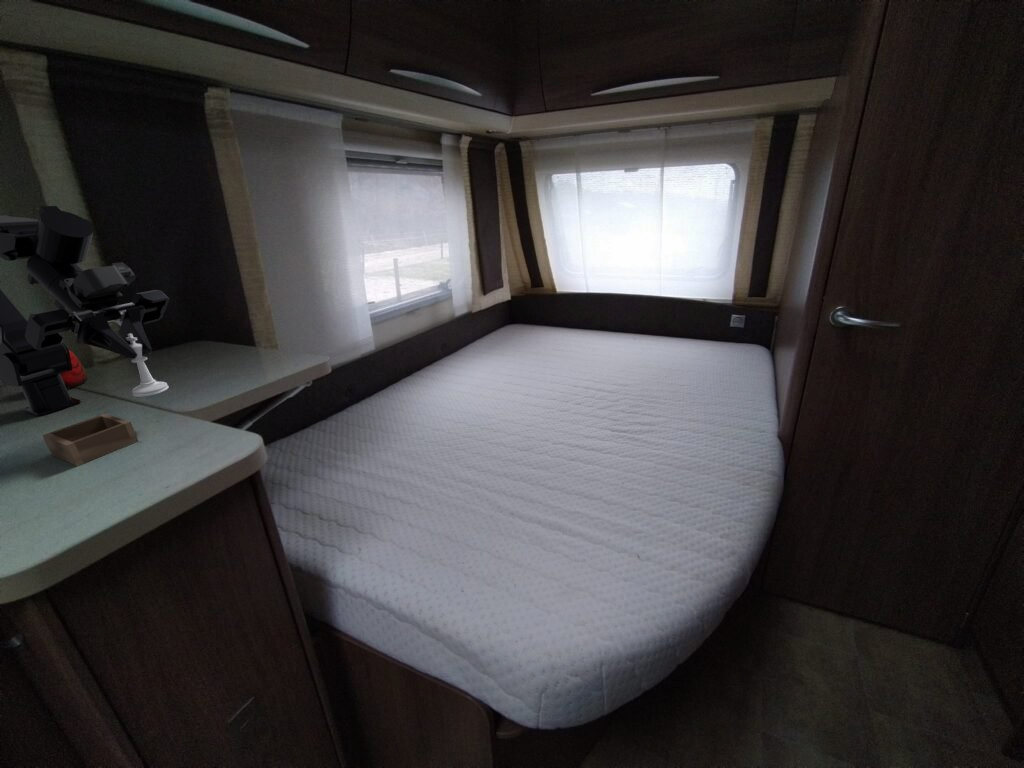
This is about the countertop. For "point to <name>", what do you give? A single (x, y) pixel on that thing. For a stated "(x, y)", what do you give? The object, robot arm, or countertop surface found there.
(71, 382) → the red clay folk toy
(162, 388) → the chess piece
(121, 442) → the walnut collar
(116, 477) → the countertop surface
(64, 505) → the countertop surface
